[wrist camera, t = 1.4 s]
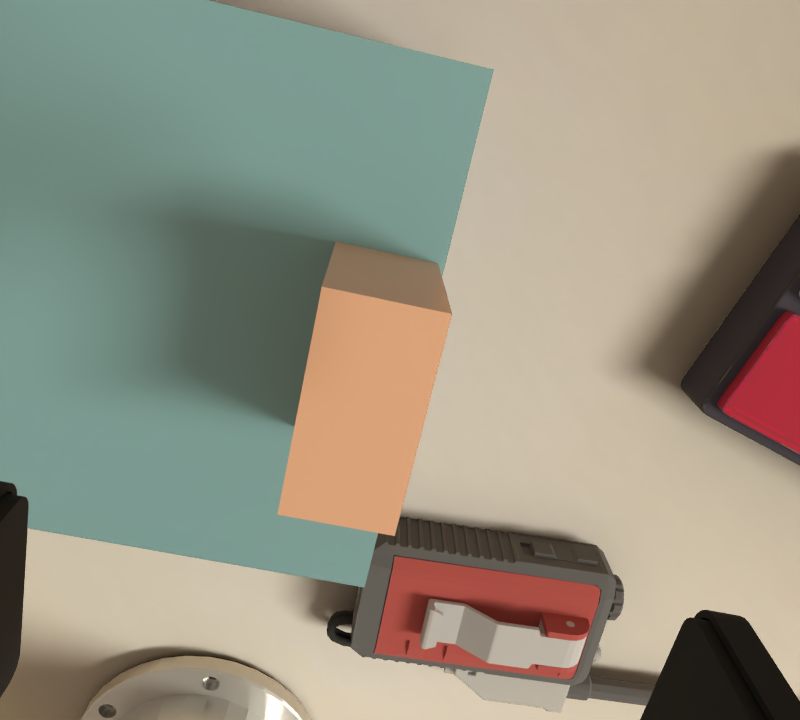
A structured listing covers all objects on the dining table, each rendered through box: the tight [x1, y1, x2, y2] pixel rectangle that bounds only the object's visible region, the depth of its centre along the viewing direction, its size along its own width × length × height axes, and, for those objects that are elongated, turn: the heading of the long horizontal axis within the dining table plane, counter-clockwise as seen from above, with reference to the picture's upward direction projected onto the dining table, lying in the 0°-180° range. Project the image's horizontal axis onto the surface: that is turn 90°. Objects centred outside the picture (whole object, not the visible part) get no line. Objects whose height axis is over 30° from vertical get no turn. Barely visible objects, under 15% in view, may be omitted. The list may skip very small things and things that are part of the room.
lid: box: [0, 0, 493, 588], centre depth 20 cm, size 17×20×6 cm
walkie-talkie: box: [327, 517, 655, 713], centre depth 36 cm, size 9×4×20 cm
